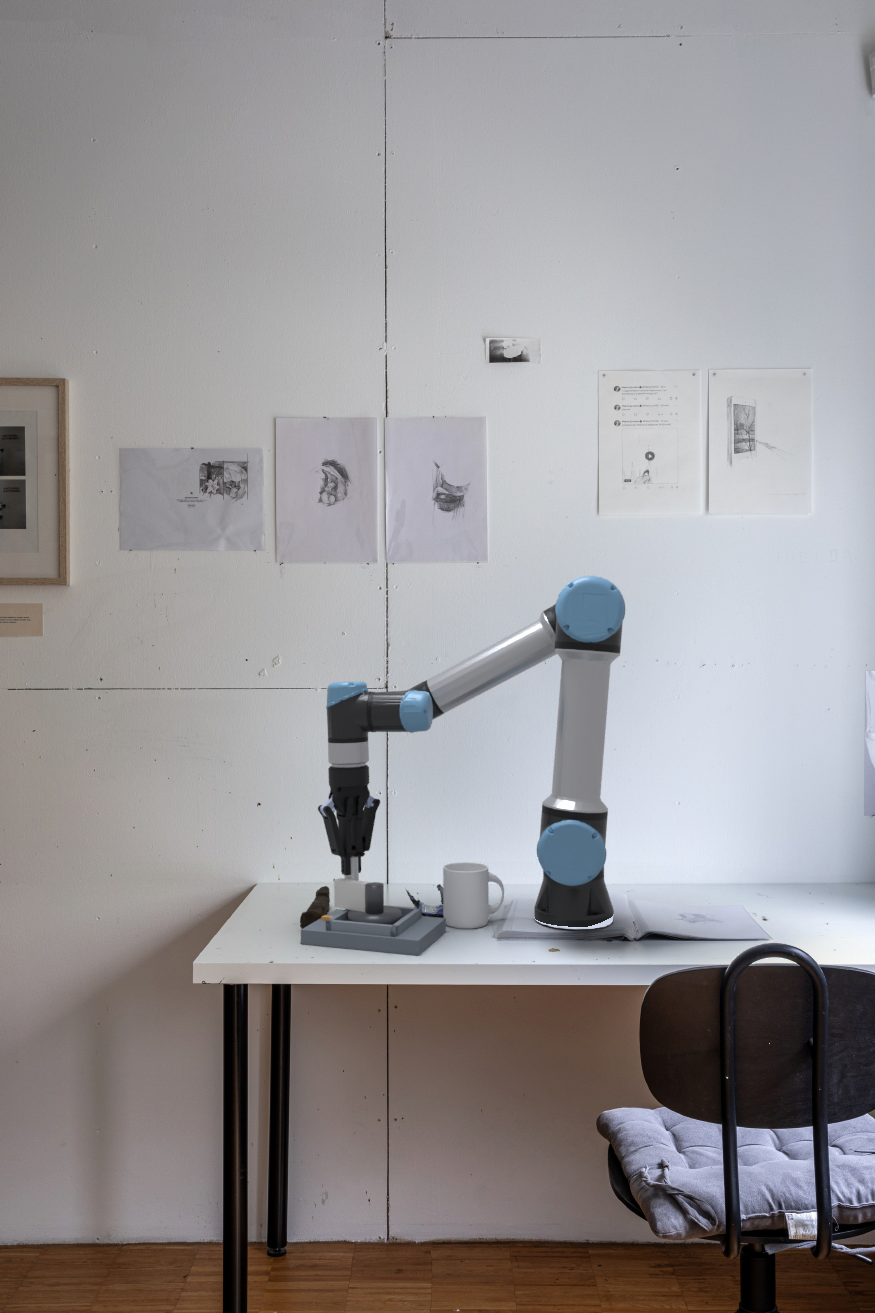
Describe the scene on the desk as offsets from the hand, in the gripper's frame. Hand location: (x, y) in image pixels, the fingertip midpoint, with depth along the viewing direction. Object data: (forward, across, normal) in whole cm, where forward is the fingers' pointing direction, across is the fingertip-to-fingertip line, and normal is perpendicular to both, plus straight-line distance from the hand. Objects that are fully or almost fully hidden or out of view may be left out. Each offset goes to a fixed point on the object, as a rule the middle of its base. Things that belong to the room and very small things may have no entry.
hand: (351, 891), depth 174 cm
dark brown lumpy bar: (+8, 0, -12) cm, 14 cm away
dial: (+4, 0, +5) cm, 7 cm away
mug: (+8, -20, +12) cm, 25 cm away
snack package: (+8, -19, +1) cm, 21 cm away
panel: (+7, 0, +7) cm, 10 cm away
